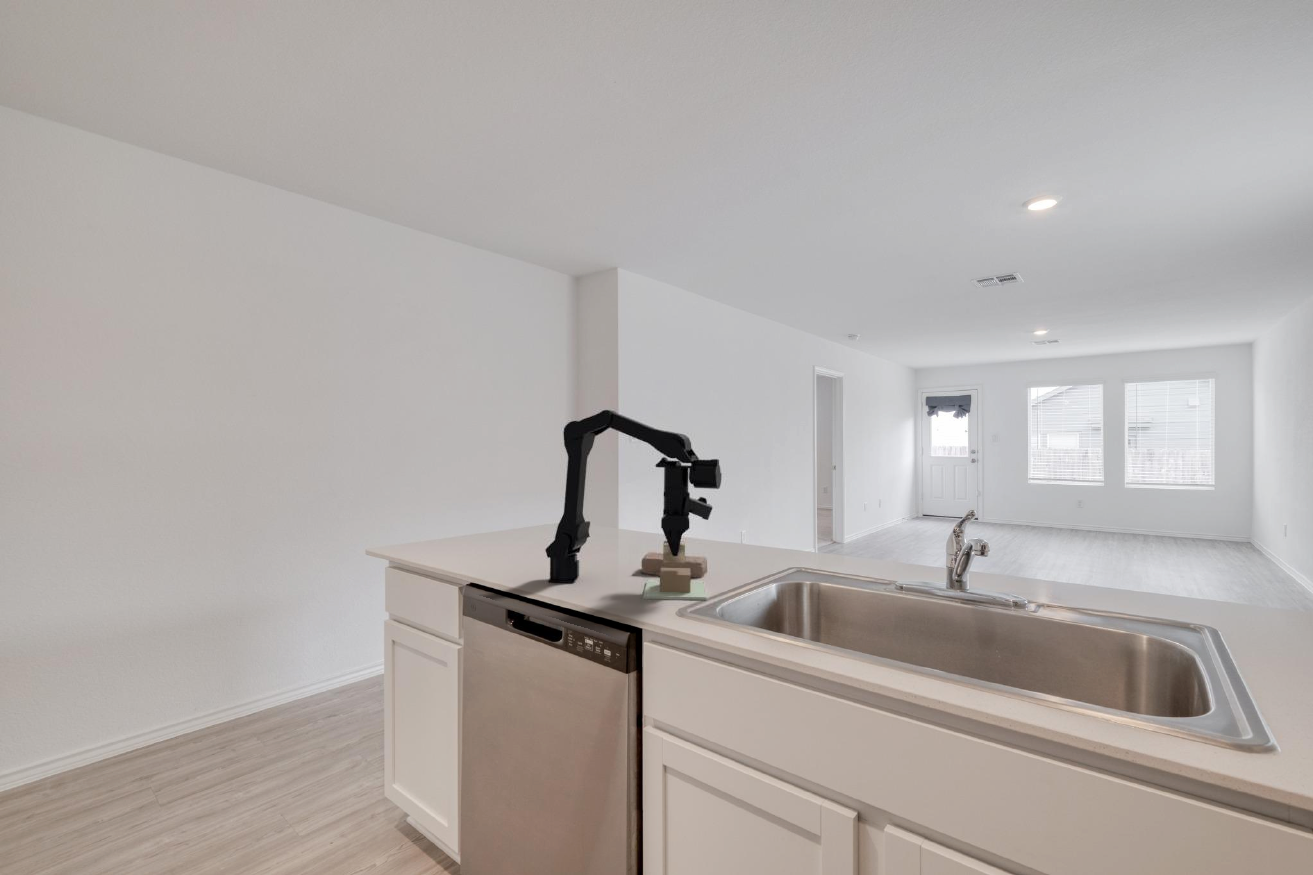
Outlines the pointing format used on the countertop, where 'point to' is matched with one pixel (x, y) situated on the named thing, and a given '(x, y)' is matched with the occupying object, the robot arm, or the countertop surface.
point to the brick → (674, 564)
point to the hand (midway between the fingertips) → (675, 553)
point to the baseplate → (683, 596)
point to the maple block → (669, 557)
